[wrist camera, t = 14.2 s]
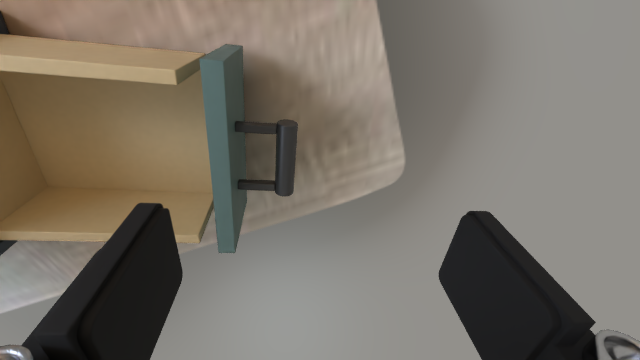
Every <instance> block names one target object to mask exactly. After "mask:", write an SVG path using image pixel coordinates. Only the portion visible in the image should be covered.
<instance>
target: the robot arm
mask: <svg viewBox="0 0 640 360" xmlns="http://www.w3.org/2000/svg"><path fill="white" fill-rule="evenodd" d="M439 280H440V282H441V284H442V286H443V288H444V290H445V292H446V294H447V295H448V297H449V299H450V301H451V303H452V305H453V307H454V308H455V310H456V312H457V314H458V316H459V317H460V320H461V322H462V323H463V325H464V327H465V329H466V331H467V333H468V335H469V337H470V338H471V340H472V342H473V344H474V346H475V347H476V350H477V351H478V353H479V355H480V357H481V359H482V360H640V341H638V340H636V339H634V338H633V337H631V336H629V335H626V334H624V333H621V332H618V331H614V330H601V331H599V333H597V334H596V335H594V334H593V333H592V331H591V330H590V328H591V327H592V326H593V325H594V324H595V321H594V320H593V319H592V318H591V317H590V316H589V315H588V314H587V313H586V312H585V311H584V310H583V309H582V308H581V307H580V306H579V305H578V303H576V301H574V299H573V298H572V297H571V296H570V295H569V294H568V293H567V292H566V291H565V290H564V289H563V288H562V287H561V286H560V285H559V284H558V283H557V282H556V281H555V280H554V279H553V277H552V276H551V275H549V273H548V272H547V271H546V270H545V269H544V268H543V267H542V266H541V265H540V264H539V263H538V262H537V261H536V260H535V259H534V258H533V257H532V256H531V255H530V254H529V253H528V252H527V250H526V249H525V248H524V247H523V246H522V245H521V244H520V243H519V242H518V241H517V240H516V239H515V238H514V237H513V236H512V235H511V234H510V233H509V232H508V231H507V230H506V229H505V228H504V227H503V225H502V224H501V223H500V222H499V221H498V220H497V219H496V218H495V217H494V216H493V215H492V214H491V213H490V212H487V211H469V212H468V213H467V214H466V215H464V216H463V217H462V218H461V220H460V223H459V225H458V227H457V230H456V232H455V235H454V237H453V239H452V242H451V244H450V247H449V249H448V251H447V254H446V256H445V258H444V261H443V263H442V266H441V268H440V270H439ZM181 281H182V267H181V262H180V258H179V253H178V248H177V244H176V239H175V234H174V230H173V225H172V220H171V216H170V211H169V209H168V208H163V205H162V204H160V203H138V204H137V205H136V206H135V207H134V208H133V210H132V211H131V212H130V213H129V215H128V216H127V217H126V218H125V220H124V221H123V222H122V224H121V225H120V226H119V227H118V229H117V230H116V231H115V232H114V234H113V235H112V236H111V237H110V239H109V240H108V241H107V242H106V244H105V245H104V246H103V247H102V249H100V250H99V251H98V252H97V253H96V254H95V255H94V256H93V257H92V258H91V260H90V261H89V262H88V263H87V265H86V266H85V267H84V268H83V270H82V271H81V272H80V273H79V275H78V276H77V277H76V278H75V280H74V281H73V282H72V283H71V284H70V286H69V287H68V288H67V289H66V291H65V292H64V293H63V294H62V296H61V297H60V298H59V299H58V301H57V302H56V303H55V304H54V306H53V307H52V308H51V309H50V311H49V312H48V313H47V315H46V316H45V317H44V318H43V319H42V320H41V322H40V323H39V324H38V325H37V327H36V328H35V329H34V330H33V332H32V333H31V334H30V335H29V337H28V338H27V339H26V340H25V342H24V343H23V344H22V345H5V346H0V360H150V358H151V355H152V353H153V350H154V348H155V345H156V343H157V340H158V338H159V335H160V333H161V331H162V328H163V326H164V323H165V321H166V318H167V316H168V314H169V311H170V308H171V306H172V304H173V301H174V299H175V296H176V294H177V291H178V289H179V287H180V284H181Z"/></svg>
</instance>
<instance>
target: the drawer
mask: <svg viewBox="0 0 640 360" xmlns="http://www.w3.org/2000/svg"><path fill="white" fill-rule="evenodd" d="M297 131H298V123H297V122H295V121H293V120H279V121H278V122H277V124H276V123H261V122H247V121H245V115H244V80H243V46H240V45H230V44H225V45H223V46H221V47H220V48H218V49H216V50H214V51H212V52H211V53H209V54H207V55H206V54H205V53H195V52H184V51H174V50H163V49H153V48H142V47H132V46H121V45H111V44H100V43H90V42H79V41H69V40H58V39H48V38H37V37H27V36H16V35H6V34H0V240H32V241H92V242H107V241H108V240H109V239H110V237H111V236H112V235H113V234H114V232H115V231H116V230H117V229H118V227H119V226H120V225H121V224H122V222H123V221H124V220H125V218H126V217H127V216H128V215H129V213H130V212H131V211H132V210H133V208H134V207H135V206H136V205H137V204H138V203H160V204H162V205H163V208H168V209H169V211H170V216H171V220H172V225H173V230H174V234H175V239H176V243H200V241H201V238H202V236H203V233H204V231H205V228H206V225H207V223H208V220H209V218H210V215H211V212H212V210H213V207H214V211H215V221H216V231H217V241H218V251H219V253H235V251H236V247H237V242H238V238H239V234H240V229H241V225H242V221H243V216H244V212H245V207H246V203H247V190H265V191H275V192H276V194H277V195H279V196H290V195H292V194H293V190H294V175H295V160H296V145H297ZM245 133H260V134H276V133H277V136H276V171H275V181H272V180H249V179H246V149H245Z"/></svg>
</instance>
